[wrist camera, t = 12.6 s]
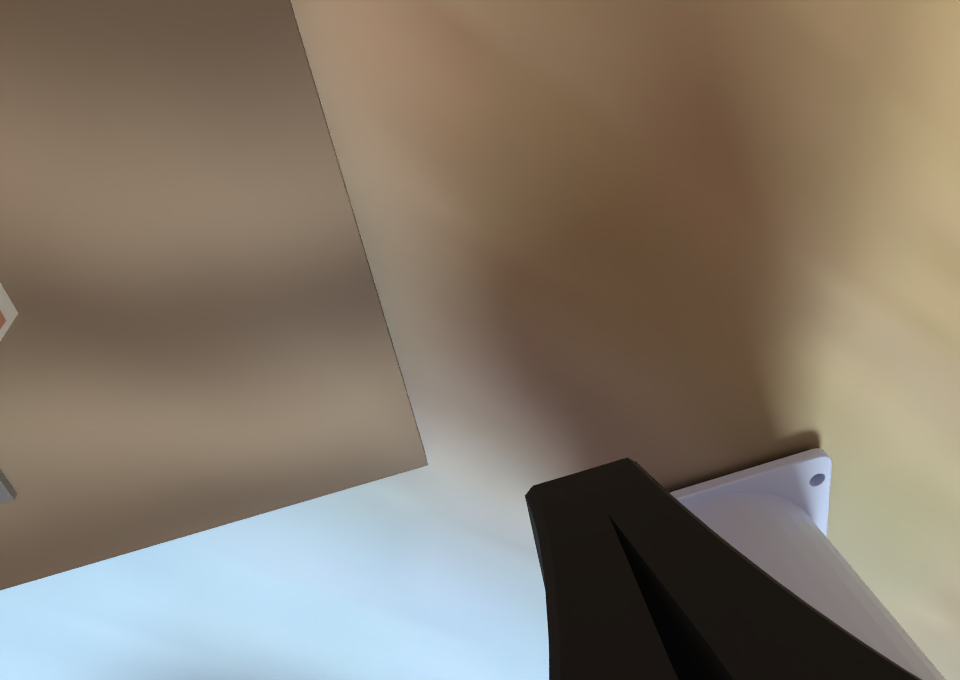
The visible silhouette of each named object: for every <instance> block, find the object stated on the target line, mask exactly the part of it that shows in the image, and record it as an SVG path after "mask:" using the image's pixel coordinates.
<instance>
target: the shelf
mask: <svg viewBox="0 0 960 680" xmlns="http://www.w3.org/2000/svg"><path fill="white" fill-rule="evenodd" d="M0 283H1V285H2V286H3V288H4V290H5V291H6V293H7V295H8V297H9V298H10V300H11V302H12V303H13V305H14V307H15V308H16V310H17V312H18V315H17V316H16V318H15V319H14V321H13V322H12V324H11V325H10V327H9V329H8V330H7V332H6V333H5V335H4V336H3V338H2V339H1V341H0V469H1V470H2V472H3V473H4V475H5V476H6V478H7V479H8V480H9V482H10V483H11V485H12V486H13V488H14V489H15V491H16V492H17V493H18V494H17V496H16V498H15V500H14V501H10V502H7V503H3V504H0V590H3V589H6V588H10V587H13V586H17V585H20V584H24V583H27V582H30V581H34V580H37V579H41V578H44V577H47V576H51V575H54V574H58V573H61V572H65V571H68V570H71V569H75V568H78V567H82V566H85V565H88V564H92V563H95V562H99V561H102V560H106V559H109V558H112V557H116V556H119V555H123V554H126V553H129V552H133V551H136V550H140V549H143V548H147V547H150V546H153V545H157V544H160V543H164V542H167V541H170V540H174V539H177V538H181V537H184V536H187V535H191V534H194V533H198V532H201V531H205V530H208V529H211V528H215V527H218V526H222V525H225V524H228V523H232V522H235V521H239V520H242V519H246V518H249V517H252V516H256V515H259V514H263V513H266V512H269V511H273V510H276V509H280V508H283V507H287V506H290V505H293V504H297V503H300V502H304V501H307V500H310V499H314V498H317V497H321V496H324V495H328V494H331V493H334V492H338V491H341V490H345V489H348V488H351V487H355V486H358V485H362V484H365V483H369V482H372V481H375V480H379V479H382V478H386V477H389V476H392V475H396V474H399V473H403V472H406V471H410V470H413V469H416V468H420V467H423V466H427V465H428V463H427V459H426V455H425V451H424V447H423V444H422V441H421V437H420V434H419V431H418V427H417V424H416V421H415V417H414V414H413V411H412V407H411V404H410V401H409V397H408V394H407V390H406V387H405V384H404V380H403V377H402V374H401V370H400V367H399V364H398V360H397V357H396V354H395V350H394V347H393V344H392V340H391V337H390V334H389V330H388V327H387V324H386V320H385V317H384V313H383V310H382V307H381V303H380V300H379V297H378V293H377V290H376V287H375V283H374V280H373V277H372V273H371V270H370V267H369V263H368V260H367V257H366V253H365V250H364V247H363V243H362V240H361V236H360V233H359V230H358V226H357V223H356V220H355V216H354V213H353V210H352V206H351V203H350V200H349V196H348V193H347V190H346V186H345V183H344V180H343V176H342V173H341V170H340V166H339V163H338V159H337V156H336V153H335V149H334V146H333V143H332V139H331V136H330V133H329V129H328V126H327V123H326V119H325V116H324V113H323V109H322V106H321V103H320V99H319V96H318V93H317V89H316V86H315V82H314V79H313V76H312V72H311V69H310V66H309V62H308V59H307V56H306V52H305V49H304V46H303V42H302V39H301V36H300V32H299V29H298V26H297V22H296V19H295V16H294V12H293V9H292V5H291V2H290V0H0Z"/></svg>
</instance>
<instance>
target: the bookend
mask: <svg viewBox="0 0 960 680" xmlns="http://www.w3.org/2000/svg"><path fill="white" fill-rule="evenodd" d="M17 494H18V493H17V492H16V491H15V489H14V488H13V486H12V485H11V483H10V482H9V480H8V479H7V478H6V476H5V475H4V473H3V472H2V470H1V469H0V504H3V503H7V502H10V501H14V500H15V498H16V496H17Z"/></svg>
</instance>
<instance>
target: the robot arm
mask: <svg viewBox="0 0 960 680" xmlns="http://www.w3.org/2000/svg"><path fill="white" fill-rule="evenodd" d="M831 469H832V460H831V458H830V457H829V456H828V455H827V453H826V452H825V451H824V450H823V449H819V448H817V449H811V450H808V451H804V452H801V453H798V454H794V455H791V456H788V457H784V458H781V459H778V460H775V461H771V462H768V463H765V464H761V465H758V466H755V467H752V468H748V469H745V470H742V471H738V472H735V473H732V474H729V475H725V476H722V477H719V478H715V479H712V480H709V481H706V482H702V483H699V484H696V485H692V486H689V487H686V488H683V489H679V490H676V491H673V492H668V491H667V490H666V489H664V488H663V487H662V486H661V485H660V484H659V483H658V482H657V481H656V480H655V479H654V478H652V477H651V476H650V475H649V474H648V473H647V472H646V471H645V470H644V469H643V468H642V467H641V466H640V465H639V464H638V463H637V462H635V461H633V460H631V459H629V458H625V459H621V460H618V461H615V462H611V463H608V464H605V465H601V466H598V467H595V468H591V469H588V470H585V471H581V472H578V473H574V474H571V475H568V476H564V477H561V478H558V479H554V480H551V481H548V482H544V483H541V484H538V485H534V486H532V487H531V489H530V490H529V491H528V493H527V494H526V495H525V498H526V502H527V507H528V511H529V516H530V521H531V525H532V530H533V535H534V539H535V544H536V549H537V553H538V558H539V562H540V567H541V572H542V576H543V581H544V586H545V591H546V605H547V620H548V635H549V680H946V679H945V678H944V677H943V676H942V675H941V673H940V672H939V671H938V670H937V669H936V667H935V666H934V665H933V664H932V663H931V661H930V660H929V659H928V658H927V657H926V655H925V654H924V653H923V652H922V651H921V649H920V648H919V647H918V646H917V645H916V644H915V642H914V641H913V640H912V639H911V638H910V636H909V635H908V634H907V633H906V632H905V630H904V629H903V628H902V627H901V626H900V624H899V623H898V622H897V621H896V620H895V618H894V617H893V616H892V615H891V614H890V612H889V611H888V610H887V609H886V608H885V607H884V605H883V604H882V603H881V602H880V601H879V599H878V598H877V597H876V596H875V595H874V593H873V592H872V591H871V590H870V589H869V587H868V586H867V585H866V584H865V583H864V581H863V580H862V579H861V578H860V577H859V575H858V574H857V573H856V572H855V571H854V570H853V568H852V567H851V566H850V565H849V564H848V562H847V561H846V560H845V559H844V558H843V556H842V555H841V554H840V553H839V552H838V550H837V549H836V548H835V547H834V546H833V544H832V543H831V542H830V541H829V540H828V538H827V524H828V510H829V497H830V483H831Z"/></svg>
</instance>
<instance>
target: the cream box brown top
mask: <svg viewBox="0 0 960 680" xmlns="http://www.w3.org/2000/svg"><path fill="white" fill-rule="evenodd" d="M17 315H18V312H17V310H16V308H15V307H14V305H13V303H12V302H11V300H10V298H9V297H8V295H7V293H6V291H5V290H4V288H3V286H2V285H1V283H0V341H1V339H2V338H3V336H4V335H5V333H6V332H7V330H8V329H9V327H10V325H11V324H12V322H13V321H14V319H15V318H16V316H17Z"/></svg>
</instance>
